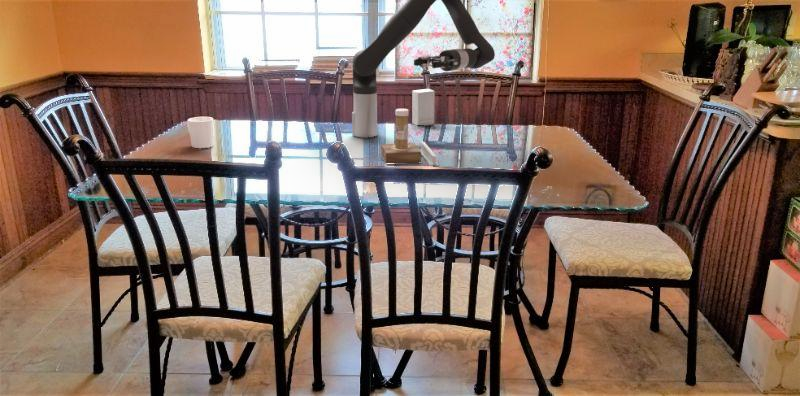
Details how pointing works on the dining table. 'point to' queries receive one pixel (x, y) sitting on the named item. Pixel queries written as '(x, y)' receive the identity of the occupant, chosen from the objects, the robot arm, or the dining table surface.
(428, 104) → the skincare box
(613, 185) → the dining table surface
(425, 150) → the divider
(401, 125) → the sprinkles bottle
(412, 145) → the walnut block
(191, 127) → the mug
